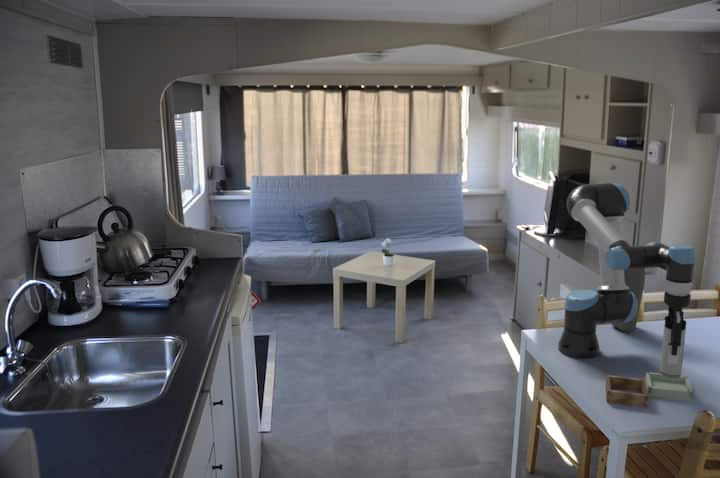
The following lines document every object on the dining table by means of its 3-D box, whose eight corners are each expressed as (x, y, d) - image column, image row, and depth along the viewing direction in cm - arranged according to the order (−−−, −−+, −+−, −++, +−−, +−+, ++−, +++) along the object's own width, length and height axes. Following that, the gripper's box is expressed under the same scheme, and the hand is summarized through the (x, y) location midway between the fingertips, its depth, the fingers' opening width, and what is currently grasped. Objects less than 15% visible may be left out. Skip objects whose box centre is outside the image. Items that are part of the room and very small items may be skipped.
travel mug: (655, 370, 204) (660, 314, 199) (673, 369, 204) (679, 313, 200) (665, 378, 198) (671, 321, 193) (685, 377, 198) (691, 320, 194)
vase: (634, 323, 261) (640, 256, 254) (644, 334, 249) (650, 264, 242) (605, 322, 263) (609, 256, 256) (613, 333, 251) (618, 263, 244)
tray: (648, 395, 199) (649, 387, 199) (644, 379, 210) (645, 371, 210) (692, 401, 195) (693, 393, 194) (686, 384, 206) (687, 376, 205)
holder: (606, 402, 196) (607, 390, 195) (605, 385, 207) (606, 374, 206) (647, 407, 192) (648, 396, 191) (643, 390, 203) (644, 379, 202)
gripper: (695, 303, 185) (688, 372, 190) (686, 284, 202) (679, 348, 207) (668, 301, 187) (662, 369, 192) (661, 283, 205) (655, 346, 210)
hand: (671, 358), depth 200 cm, fingers closed on travel mug, 6 cm apart
